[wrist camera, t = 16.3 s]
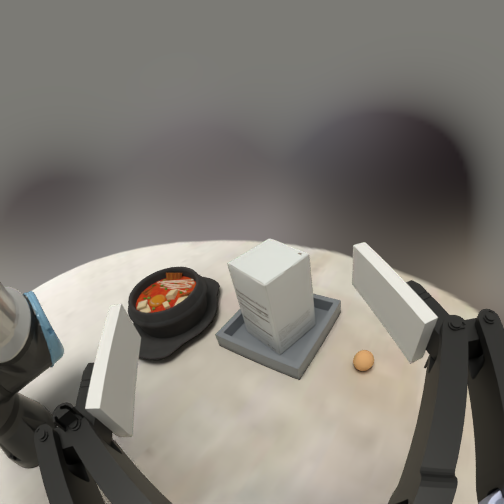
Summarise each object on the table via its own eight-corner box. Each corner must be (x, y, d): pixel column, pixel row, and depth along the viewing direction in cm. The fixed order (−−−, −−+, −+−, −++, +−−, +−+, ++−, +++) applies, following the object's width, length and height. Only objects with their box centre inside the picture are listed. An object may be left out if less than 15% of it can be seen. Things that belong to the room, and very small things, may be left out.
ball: (349, 371, 39) (350, 359, 37) (356, 356, 41) (358, 343, 39) (368, 377, 37) (371, 365, 35) (375, 361, 39) (377, 348, 37)
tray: (219, 345, 49) (215, 334, 47) (268, 292, 59) (265, 281, 58) (299, 379, 40) (298, 369, 38) (340, 312, 50) (340, 300, 48)
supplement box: (281, 304, 54) (269, 236, 47) (316, 324, 48) (311, 252, 40) (245, 330, 50) (225, 261, 43) (279, 356, 44) (264, 284, 36)
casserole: (175, 279, 70) (164, 251, 66) (240, 287, 62) (232, 255, 58) (112, 350, 51) (93, 321, 47) (181, 378, 44) (162, 346, 39)
